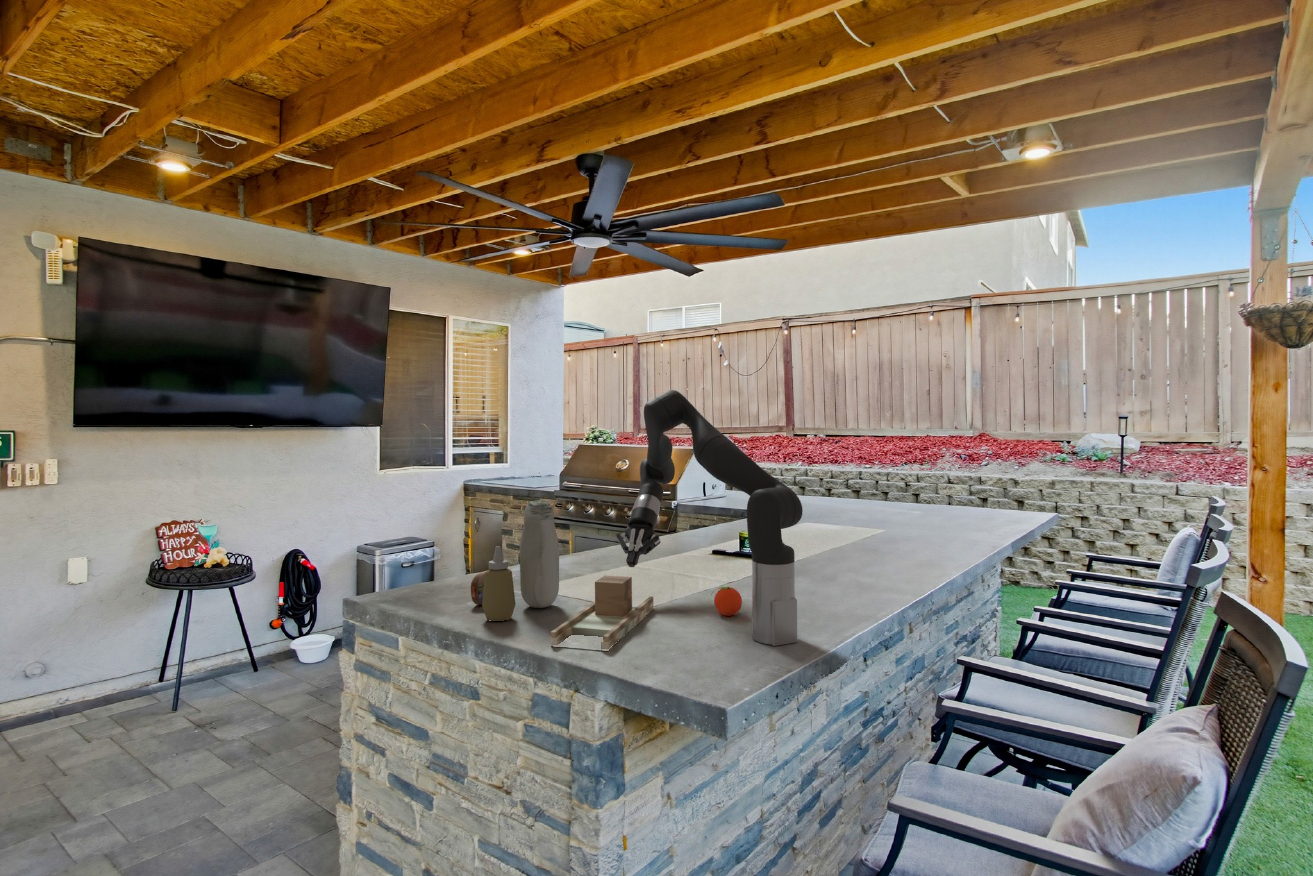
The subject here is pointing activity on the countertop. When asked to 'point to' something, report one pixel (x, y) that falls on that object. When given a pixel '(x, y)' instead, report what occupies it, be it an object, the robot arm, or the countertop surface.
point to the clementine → (727, 601)
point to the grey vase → (539, 556)
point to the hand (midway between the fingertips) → (630, 565)
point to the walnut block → (613, 596)
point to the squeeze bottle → (498, 589)
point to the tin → (477, 588)
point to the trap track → (601, 624)
